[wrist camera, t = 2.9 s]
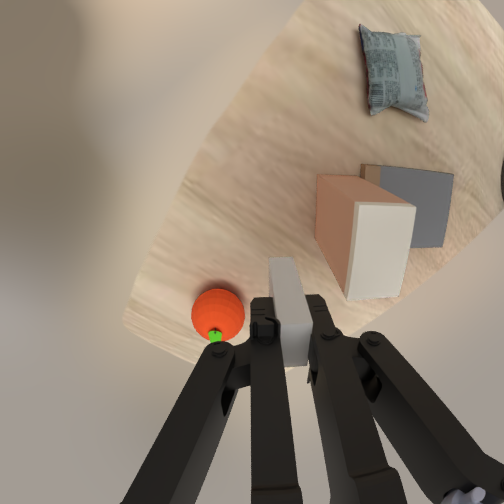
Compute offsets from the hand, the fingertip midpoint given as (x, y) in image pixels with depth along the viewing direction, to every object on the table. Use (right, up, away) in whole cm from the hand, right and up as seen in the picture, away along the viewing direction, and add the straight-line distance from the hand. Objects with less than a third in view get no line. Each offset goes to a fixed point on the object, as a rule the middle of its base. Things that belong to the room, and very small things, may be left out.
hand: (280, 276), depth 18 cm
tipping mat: (+19, +7, +15) cm, 25 cm away
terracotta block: (+8, +7, +15) cm, 19 cm away
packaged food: (+15, +23, +8) cm, 29 cm away
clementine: (-6, -6, +21) cm, 23 cm away
